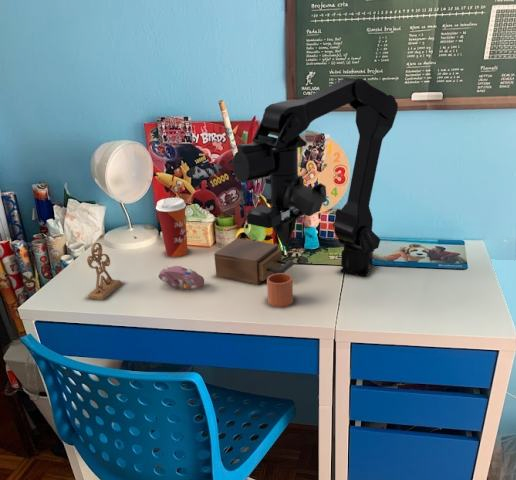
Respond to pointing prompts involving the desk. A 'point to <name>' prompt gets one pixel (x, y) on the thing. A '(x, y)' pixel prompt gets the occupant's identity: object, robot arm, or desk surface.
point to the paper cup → (173, 225)
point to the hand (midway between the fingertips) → (285, 245)
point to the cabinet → (242, 260)
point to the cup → (280, 289)
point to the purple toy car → (181, 277)
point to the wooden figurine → (108, 284)
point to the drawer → (273, 265)
